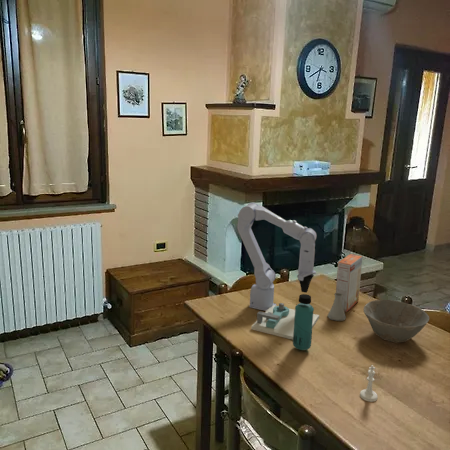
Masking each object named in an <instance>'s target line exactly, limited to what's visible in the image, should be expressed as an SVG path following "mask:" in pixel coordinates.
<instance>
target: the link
mask: <svg viewBox="0 0 450 450" xmlns="http://www.w3.org/2000/svg"><path fill="white" fill-rule="evenodd" d="M288 308H289V307H287V306H286V305H284V311H279V305H276V306H275V307H274V308H273V315H277V316H280V319H281V318H282V316H287V315H288V314H289V309H290V308H289V309H288ZM280 319H279V320H280ZM279 320H278V321H277V320H273V319H269V320H268V321H267V322H266V327H270V328H274V327H275V326H276V325H277V323H278V322H279Z"/></svg>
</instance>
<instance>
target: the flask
mask: <svg viewBox="0 0 450 450" xmlns="http://www.w3.org/2000/svg"><path fill="white" fill-rule="evenodd" d="M333 295H334V300H333V304H332V306H331V308H330V310H329V312H328V314H327V318H328V319H329V320H332V321H337V322H341V321H345V320H346V318H347V317H346V312H345V311H344V310H343V306H342V296H343V294H341V293H336V292H335V293H334V294H333Z"/></svg>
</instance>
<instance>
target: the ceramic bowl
mask: <svg viewBox="0 0 450 450" xmlns="http://www.w3.org/2000/svg"><path fill="white" fill-rule="evenodd" d="M363 313H364V315H365V317H366V318H367V319H368V320H367V321H368V322H369V324H370V327H371V329H372V332H374V334H376V335H377V336H378V337H379V338H381V339H382V340H385V341H389V342H392V343H406V342H407V341H409V340H411V339H412V338H414V337H415V336H416V335H418V334H419V333H420V332H421V331H422V330H423V328H425V326H426V325H427V324H428V322H429V321H430V316H429V314H428V313H427V312H426V311H425V310H424V309H422V308H421V307H418V306H416V305H413V304H410V303H407V302H404V301H400V300H399V301H398V300H394V299H393V300H392V299H375V300H371V301H369V302H367V303H366V304H365V305H364V306H363Z"/></svg>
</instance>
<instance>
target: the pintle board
mask: <svg viewBox="0 0 450 450" xmlns="http://www.w3.org/2000/svg"><path fill="white" fill-rule="evenodd" d="M275 306H277V304H276V305H273V306H272V307H270V308H269V309H268V310H267V311H265V312H263V311H261V310H260V311H257V313H256V321H254V323H253V324H252V325H251V329H250V330H254V331H257V332H261V333H265V334H268V335H269V334H270V335H272V336H277V337H280V338H284V339H289V340H292V341H293V335H294V330H293V329H294V320H295V319H294V317H295V308H293V309H292V308H289V307H287V308H288V309H289V314H288V315H287V316H282V318H281V319H280V316H277V315H273V308H274V307H275ZM278 306H279V311H284V306H285V303H283V302H280V303H278ZM269 319H273V320H277V321H278V320H279V319H280V320H279V322H278V323H277V325H276V326H275V327H274V328H270V327H266V322H267V321H268V320H269ZM319 319H320V314H315V313H313V323H312V329H313V328H314V327H315V325H316V323H317V322H318V321H319Z"/></svg>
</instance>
